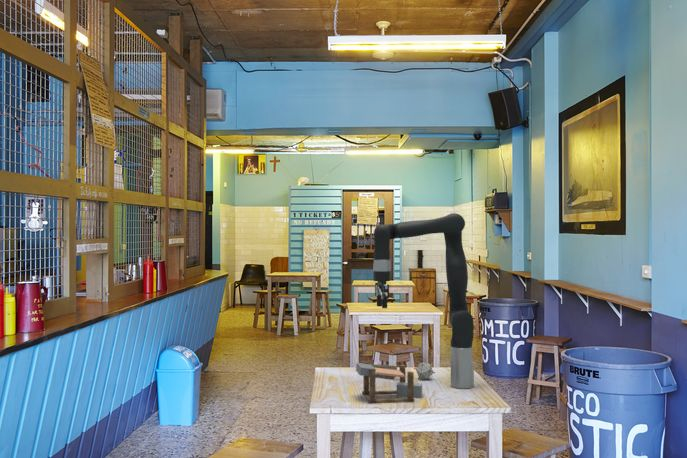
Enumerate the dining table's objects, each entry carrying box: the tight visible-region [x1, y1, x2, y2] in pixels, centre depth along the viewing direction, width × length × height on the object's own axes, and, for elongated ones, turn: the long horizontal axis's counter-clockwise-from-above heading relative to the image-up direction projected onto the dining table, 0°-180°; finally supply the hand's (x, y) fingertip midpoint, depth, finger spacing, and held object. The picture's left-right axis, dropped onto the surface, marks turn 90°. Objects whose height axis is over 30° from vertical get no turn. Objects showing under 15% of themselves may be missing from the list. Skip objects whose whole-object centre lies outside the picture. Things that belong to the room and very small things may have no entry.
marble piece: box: [371, 363, 398, 380], centre depth 289 cm, size 17×15×4 cm
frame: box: [361, 361, 415, 404], centre depth 246 cm, size 18×15×13 cm
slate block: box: [396, 381, 423, 399], centre depth 248 cm, size 5×5×10 cm
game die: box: [413, 360, 436, 381], centre depth 280 cm, size 9×8×10 cm
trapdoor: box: [355, 362, 406, 378], centre depth 245 cm, size 18×11×3 cm, turn 98°
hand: (381, 307), depth 267 cm, fingers open, 8 cm apart
